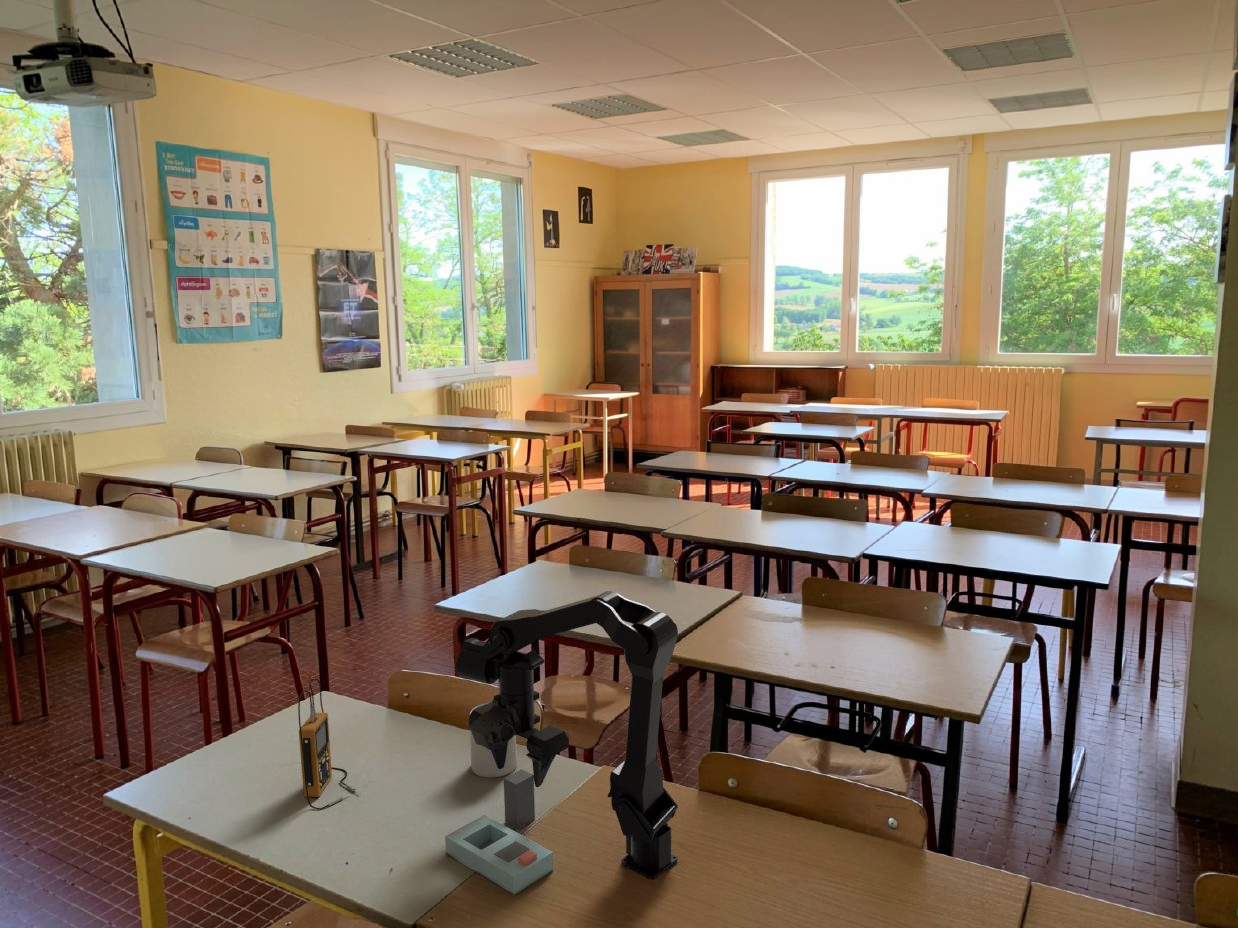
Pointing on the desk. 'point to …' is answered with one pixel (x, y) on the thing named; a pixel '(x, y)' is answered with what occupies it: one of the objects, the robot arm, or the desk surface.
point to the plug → (519, 798)
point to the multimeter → (316, 752)
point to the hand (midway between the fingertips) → (519, 776)
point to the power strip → (499, 854)
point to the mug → (491, 758)
